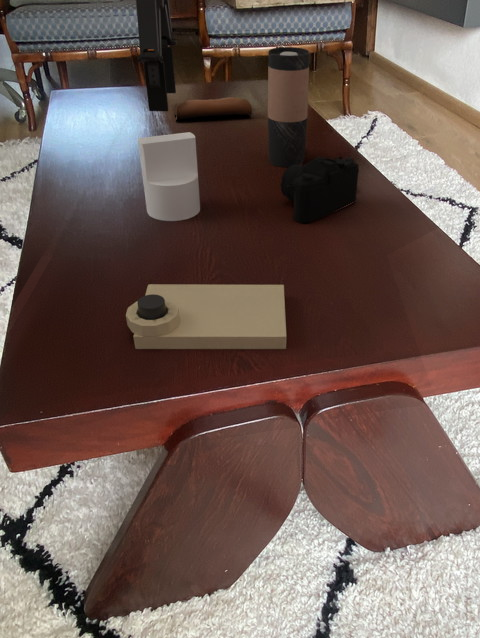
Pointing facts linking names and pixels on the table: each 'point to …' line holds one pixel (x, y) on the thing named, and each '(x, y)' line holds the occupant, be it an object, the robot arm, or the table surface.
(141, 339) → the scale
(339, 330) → the table surface
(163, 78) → the robot arm
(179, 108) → the sunglasses case
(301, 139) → the travel mug
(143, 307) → the button
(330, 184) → the film camera
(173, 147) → the base with upright slab
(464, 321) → the table surface
